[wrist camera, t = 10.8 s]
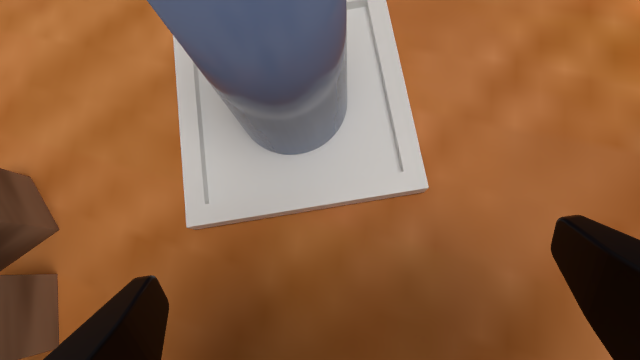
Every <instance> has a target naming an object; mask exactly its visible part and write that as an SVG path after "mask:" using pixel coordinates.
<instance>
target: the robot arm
mask: <svg viewBox="0 0 640 360" xmlns="http://www.w3.org/2000/svg"><path fill="white" fill-rule="evenodd" d="M551 252H552V255H553V258H554V260H555V261H556V263H557V265H558V267H559V269H560V271H561V273H562V275H563V277H564V278H565V280H566V282H567V284H568V286H569V288H570V290H571V292H572V293H573V295H574V297H575V299H576V301H577V303H578V305H579V307H580V309H581V310H582V312H583V314H584V316H585V317H586V319H587V321H588V322H589V324H590V325H591V327H592V328H593V330H594V331H595V333H596V334H597V336H598V337H599V339H600V340H601V342H602V343H603V345H604V346H605V348H606V349H607V351H608V352H609V354H610V355H611V357H612V358H613V360H640V240H639V239H636V238H634V237H631V236H629V235H627V234H624V233H622V232H620V231H617V230H615V229H612V228H610V227H608V226H605V225H603V224H600V223H598V222H596V221H593V220H591V219H589V218H586V217H584V216H581V215H572V216H565V217H561V218H559V219H558V220H557V222H556V226H555V230H554V234H553V238H552V243H551ZM168 312H169V303H168V299H167V297H166V295H165V293H164V291H163V289H162V287H161V285H160V284H159V282H158V280H157V278H156V277H155V276H151V275H150V276H143V277H137V278H135V279H133V280H132V281H131V282H130V283H128V284H127V285H126V286H125V287H124V288H123V289H122V290H121V291H119V292H118V293H117V294H116V295H115V296H114V297H113V298H112V299H110V300H109V301H108V302H107V303H106V304H105V305H104V306H103V307H102V308H100V309H99V310H98V311H97V312H96V313H95V314H94V315H93V316H91V317H90V318H89V319H88V320H87V321H86V322H85V323H84V324H82V325H81V326H80V327H79V328H78V329H77V330H76V331H75V332H73V333H72V334H71V335H70V336H69V337H68V338H67V339H66V340H64V341H63V342H62V343H61V344H60V345H59V346H58V347H57V348H56V349H54V350H53V351H52V352H51V353H50V354H49V355H48V356H47V357H45V358H44V359H43V360H161V357H162V350H163V344H164V337H165V331H166V325H167V318H168Z"/></svg>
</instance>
